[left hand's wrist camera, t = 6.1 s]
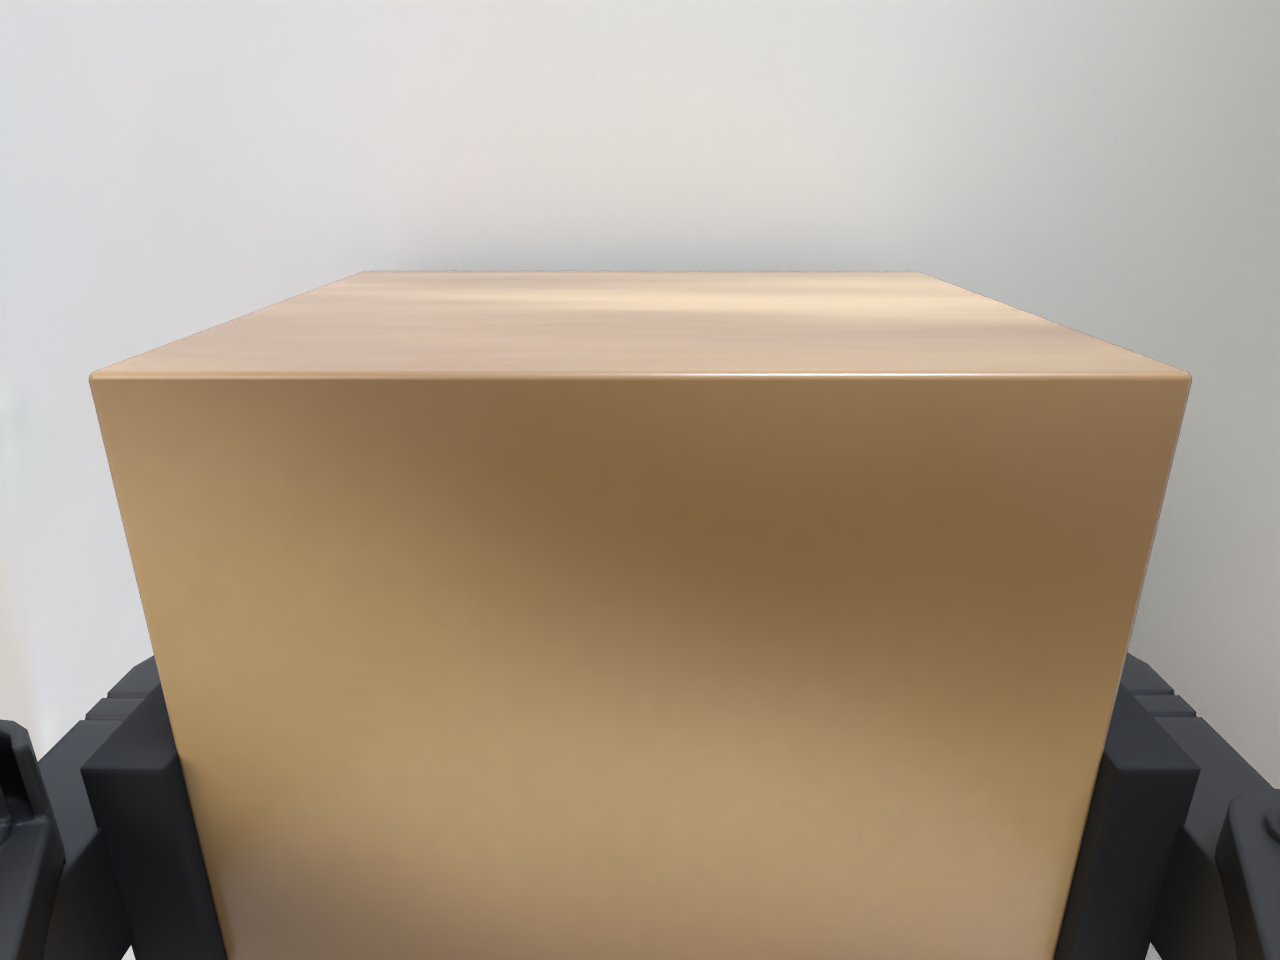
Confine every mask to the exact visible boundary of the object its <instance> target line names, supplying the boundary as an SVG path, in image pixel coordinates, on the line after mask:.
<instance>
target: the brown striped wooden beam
mask: <svg viewBox="0 0 1280 960" xmlns="http://www.w3.org/2000/svg"><path fill="white" fill-rule="evenodd" d="M1191 382H1192V377H1191V375H1190V373H1187V372H1185V371H1183V370H1180V369H1177V368H1175V367H1172V366H1169V365H1167V364H1164V363H1161V362H1159V361H1156V360H1153V359H1151V358H1148V357H1145V356H1143V355H1140V354H1137V353H1134V352H1132V351H1129V350H1126V349H1124V348H1121V347H1118V346H1116V345H1113V344H1110V343H1108V342H1105V341H1102V340H1100V339H1097V338H1094V337H1092V336H1089V335H1086V334H1084V333H1081V332H1078V331H1076V330H1073V329H1070V328H1068V327H1065V326H1062V325H1059V324H1057V323H1054V322H1051V321H1049V320H1046V319H1043V318H1041V317H1038V316H1035V315H1033V314H1030V313H1027V312H1025V311H1022V310H1019V309H1017V308H1014V307H1011V306H1009V305H1006V304H1003V303H1001V302H998V301H995V300H992V299H990V298H987V297H984V296H982V295H979V294H976V293H974V292H971V291H968V290H966V289H963V288H960V287H958V286H955V285H952V284H950V283H947V282H944V281H942V280H939V279H936V278H934V277H931V276H928V275H925V274H923V273H920V272H917V271H362V272H360V273H357V274H354V275H352V276H349V277H346V278H344V279H341V280H338V281H336V282H333V283H330V284H328V285H325V286H322V287H320V288H317V289H314V290H312V291H309V292H306V293H304V294H301V295H298V296H296V297H293V298H290V299H287V300H285V301H282V302H279V303H277V304H274V305H271V306H269V307H266V308H263V309H261V310H258V311H255V312H253V313H250V314H247V315H245V316H242V317H239V318H237V319H234V320H231V321H229V322H226V323H223V324H220V325H218V326H215V327H212V328H210V329H207V330H204V331H202V332H199V333H196V334H194V335H191V336H188V337H186V338H183V339H180V340H178V341H175V342H172V343H170V344H167V345H164V346H162V347H159V348H156V349H154V350H151V351H148V352H145V353H143V354H140V355H137V356H135V357H132V358H129V359H127V360H124V361H121V362H119V363H116V364H113V365H111V366H108V367H105V368H103V369H100V370H97V371H95V372H93V373H91V374H90V375H89V383H90V387H91V391H92V396H93V400H94V404H95V408H96V412H97V417H98V421H99V425H100V429H101V433H102V438H103V442H104V446H105V450H106V454H107V459H108V463H109V467H110V471H111V475H112V480H113V484H114V488H115V492H116V496H117V500H118V505H119V509H120V513H121V517H122V521H123V526H124V530H125V534H126V538H127V542H128V547H129V551H130V555H131V559H132V563H133V568H134V572H135V576H136V580H137V584H138V589H139V593H140V597H141V601H142V605H143V610H144V614H145V618H146V622H147V626H148V631H149V635H150V639H151V643H152V647H153V652H154V656H155V660H156V664H157V668H158V673H159V677H160V681H161V685H162V689H163V694H164V698H165V702H166V706H167V710H168V715H169V719H170V723H171V727H172V731H173V736H174V740H175V744H176V748H177V752H178V757H179V761H180V765H181V769H182V773H183V778H184V782H185V786H186V790H187V794H188V799H189V803H190V807H191V811H192V815H193V820H194V824H195V828H196V832H197V836H198V841H199V845H200V849H201V853H202V857H203V862H204V866H205V870H206V874H207V878H208V883H209V887H210V891H211V895H212V899H213V904H214V908H215V912H216V916H217V920H218V925H219V929H220V933H221V937H222V941H223V946H224V950H225V954H226V958H227V960H1053V959H1054V955H1055V951H1056V947H1057V943H1058V938H1059V934H1060V930H1061V926H1062V922H1063V918H1064V913H1065V909H1066V905H1067V901H1068V897H1069V892H1070V888H1071V884H1072V880H1073V876H1074V872H1075V867H1076V863H1077V859H1078V855H1079V851H1080V846H1081V842H1082V838H1083V834H1084V830H1085V826H1086V821H1087V817H1088V813H1089V809H1090V805H1091V800H1092V796H1093V792H1094V788H1095V784H1096V780H1097V775H1098V771H1099V767H1100V763H1101V759H1102V754H1103V750H1104V746H1105V742H1106V738H1107V734H1108V729H1109V725H1110V721H1111V717H1112V713H1113V708H1114V704H1115V700H1116V696H1117V692H1118V688H1119V683H1120V679H1121V675H1122V671H1123V667H1124V662H1125V658H1126V654H1127V650H1128V646H1129V642H1130V637H1131V633H1132V629H1133V625H1134V621H1135V616H1136V612H1137V608H1138V604H1139V600H1140V596H1141V591H1142V587H1143V583H1144V579H1145V575H1146V570H1147V566H1148V562H1149V558H1150V554H1151V550H1152V545H1153V541H1154V537H1155V533H1156V529H1157V524H1158V520H1159V516H1160V512H1161V508H1162V504H1163V499H1164V495H1165V491H1166V487H1167V483H1168V478H1169V474H1170V470H1171V466H1172V462H1173V458H1174V453H1175V449H1176V445H1177V441H1178V437H1179V432H1180V428H1181V424H1182V420H1183V416H1184V412H1185V407H1186V403H1187V399H1188V395H1189V391H1190V386H1191Z"/></svg>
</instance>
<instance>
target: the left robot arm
mask: <svg viewBox="0 0 1280 960" xmlns="http://www.w3.org/2000/svg"><path fill="white" fill-rule="evenodd" d="M1150 942H1151V943H1152V945H1153V946H1154V948H1155V949H1156V951H1157V952H1158V954H1159V955H1160V957H1161V958H1162V960H1280V789H1274V788H1273V787H1272V786H1271V785H1270V784H1269V783H1268V782H1267V781H1266V780H1265V779H1264V778H1263V777H1262V776H1261V775H1260V774H1259V773H1258V772H1257V771H1256V770H1255V769H1254V768H1253V767H1251V766H1250V765H1249V764H1248V763H1247V762H1246V761H1245V760H1244V759H1243V758H1242V757H1241V756H1240V755H1239V754H1238V753H1237V752H1236V751H1235V750H1234V749H1233V748H1232V747H1231V746H1230V745H1229V744H1228V743H1227V742H1226V741H1225V740H1224V739H1223V738H1222V737H1221V736H1220V735H1219V734H1218V733H1217V732H1216V731H1215V730H1214V729H1213V728H1212V727H1211V726H1210V725H1209V724H1208V723H1207V722H1206V721H1205V720H1204V719H1203V718H1202V717H1196V711H1195V710H1194V709H1193V708H1192V707H1191V706H1189V705H1188V704H1187V703H1186V702H1185V701H1184V700H1183V699H1182V698H1181V697H1180V696H1179V695H1174V690H1173V689H1172V688H1171V687H1170V686H1169V685H1168V684H1167V683H1166V682H1165V681H1164V680H1163V679H1162V678H1161V677H1160V676H1159V675H1158V674H1157V673H1156V672H1155V671H1154V670H1153V669H1152V668H1151V667H1150V666H1149V665H1148V664H1146V663H1144V662H1143V661H1141V660H1139V659H1137V658H1136V657H1134V656H1132V655H1131V654H1129V653H1127V654H1126V658H1125V662H1124V667H1123V671H1122V675H1121V679H1120V683H1119V688H1118V692H1117V696H1116V700H1115V704H1114V708H1113V713H1112V717H1111V721H1110V725H1109V729H1108V734H1107V738H1106V742H1105V746H1104V750H1103V754H1102V759H1101V763H1100V767H1099V771H1098V775H1097V780H1096V784H1095V788H1094V792H1093V796H1092V800H1091V805H1090V809H1089V813H1088V817H1087V821H1086V826H1085V830H1084V834H1083V838H1082V842H1081V846H1080V851H1079V855H1078V859H1077V863H1076V867H1075V872H1074V876H1073V880H1072V884H1071V888H1070V892H1069V897H1068V901H1067V905H1066V909H1065V913H1064V918H1063V922H1062V926H1061V930H1060V934H1059V938H1058V943H1057V947H1056V951H1055V955H1054V959H1053V960H1145V958H1146V955H1147V951H1148V948H1149V944H1150ZM130 945H132V949H133V952H134V955H135V959H136V960H227V958H226V954H225V950H224V946H223V941H222V937H221V933H220V929H219V925H218V920H217V916H216V912H215V908H214V904H213V899H212V895H211V891H210V887H209V883H208V878H207V874H206V870H205V866H204V862H203V857H202V853H201V849H200V845H199V841H198V836H197V832H196V828H195V824H194V820H193V815H192V811H191V807H190V803H189V799H188V794H187V790H186V786H185V782H184V778H183V773H182V769H181V765H180V761H179V757H178V752H177V748H176V744H175V740H174V736H173V731H172V727H171V723H170V719H169V715H168V710H167V706H166V702H165V698H164V694H163V689H162V685H161V681H160V677H159V673H158V668H157V664H156V660H155V656H152V657H150V658H149V659H147V660H145V661H143V662H142V663H140V664H138V665H137V666H135V667H133V668H132V669H131V670H130V671H129V672H128V673H127V674H126V675H125V676H124V677H123V678H122V679H121V680H120V681H119V682H118V683H117V684H116V685H115V686H114V687H113V688H112V689H111V690H110V691H109V692H108V696H107V698H102V699H101V700H100V701H99V702H98V703H97V704H96V705H95V706H94V707H93V708H92V709H91V710H90V711H89V712H88V713H87V714H86V718H85V720H80V721H79V722H78V723H77V724H76V725H75V726H74V727H73V728H72V729H71V730H70V731H69V732H68V733H67V734H66V735H65V736H64V737H63V738H62V739H61V740H60V741H59V742H58V743H57V744H56V745H55V746H54V747H53V748H52V749H51V750H50V751H49V752H48V753H47V754H46V755H45V756H44V757H43V758H42V759H40V760H39V761H38V762H37V759H36V756H35V753H34V749H33V746H32V743H31V740H30V737H29V733H28V730H27V729H25V728H24V727H22V726H21V725H19V724H17V723H16V722H14V721H8V720H0V960H121V959H122V958H123V956H124V955H125V953H126V952H127V950H128V948H129V947H130Z"/></svg>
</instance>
